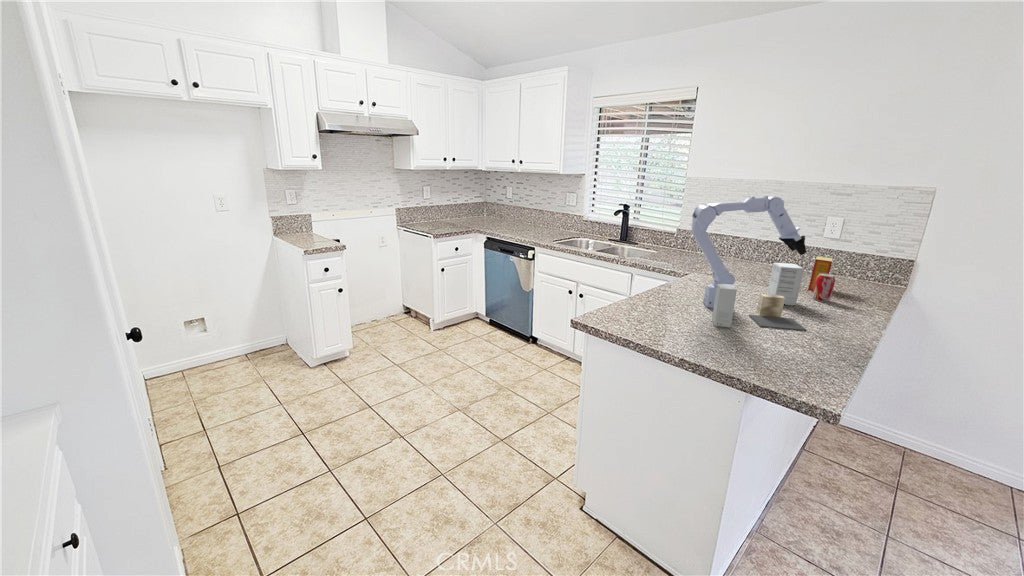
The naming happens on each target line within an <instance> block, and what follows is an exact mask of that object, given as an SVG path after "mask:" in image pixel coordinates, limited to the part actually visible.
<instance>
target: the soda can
mask: <svg viewBox="0 0 1024 576" xmlns="http://www.w3.org/2000/svg"><path fill="white" fill-rule="evenodd" d="M835 284H836V279H835V275H834V274H832V273H829V274H826V273H819V275H818V276H817V278H816V281H815V285H814V289H813V291H812V296H811V298H812V299H813V300H814V299H815V300H814V301H817V300H818V301H817V302H821V301H823V302H822V303H826V302H829V301H831V298H832V294H833V291H834V288H835Z"/></svg>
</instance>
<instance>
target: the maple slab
mask: <svg viewBox="0 0 1024 576" xmlns="http://www.w3.org/2000/svg"><path fill="white" fill-rule="evenodd" d="M784 301H785V298H784V297H783V296H778V295H767V294H762V293H760V295H759V299H758V305H757V309H756V313H757V314H758V315H759V316H771V317H782V313H783V309H784V306H785V305H784ZM757 314H756V315H757Z"/></svg>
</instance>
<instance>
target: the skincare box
mask: <svg viewBox="0 0 1024 576" xmlns="http://www.w3.org/2000/svg"><path fill="white" fill-rule="evenodd" d="M737 291H738V289H737V288H736V287H735V286H734V284H733V285H731V284H717V289H716V296H715V303H714V308H712V309H713V310H712V317H711V320H712V323H713V325H714V326H715V327H721V328H729V329H731V327H732V323H733V315H734V310H735V309H734V308H735V303H736V295H737Z"/></svg>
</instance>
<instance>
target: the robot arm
mask: <svg viewBox="0 0 1024 576" xmlns="http://www.w3.org/2000/svg"><path fill="white" fill-rule="evenodd" d="M735 211H744V212H745V213H747V214H750V213H751V214H752V213H764V212H766V211H767V213H768V215H769V217H770V219H771V221H772V222H773V224H774V227H775V228H776V230H777V232H778V233H779V236H780V237H779V238H778V239H779V240H780V241H781V242H782V243H784V244H785V245H786V246H787V247H788V248H789V250H790V251H791V252H794V251H796V252H797V253H798V254H799V255H800V256H802V255H805V254H807V250H806V249H807V248H806V243H805V242H806V236H805V235H800V234H799V230H801V228H800V226H795V224H794V222H793V220H792V218H791V216H790V215H789V213H788V212H787V210H786V208H785V200H784V199H782V198H781V197H778V196H773V195H764V196H763V197H756V196H753V195H751V196H749V197H747V198H746V199H744V201H729V202H728V201H727V202H725V201H724V202H714V203H713V202H712V203H711V202H710V203H707V204H700V205H698V206H697V207H696V208H695V209H694V211H693V213H692V215H691V217H692V221H691V233H692V235H693V237H694V238H695V241H696V243H697V244H698V247H699V248H700V250H701V252H702V253H703V255H704V257H705V260H706V261H707V263H708V265H709V266H710V270H711V272H712V278H713V280H714V281H713V282H712V284H706V286H705V291H704V294H703V299H702V302H703V304H704V305H705V306H706V308H712V309H714V303H715V296H716V289H717V284H731V285H734V284H735V281H736V278H735V276H734V274H732V273H731V272H730V271H729V270H728V269H727V267H726V266H725V264H724V263H723V261H722V258H721V256H720V255H719V253H718V252H717V249H716V248H715V246H714V244H713V242H712V240H711V239H710V237H709V235H708V233H707V230H708V228H709V225H711V224H712V223H713V222H714V220H715V219H716V218H717V217H719V216H720V215H722V214H723V213H725V212H735Z"/></svg>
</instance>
